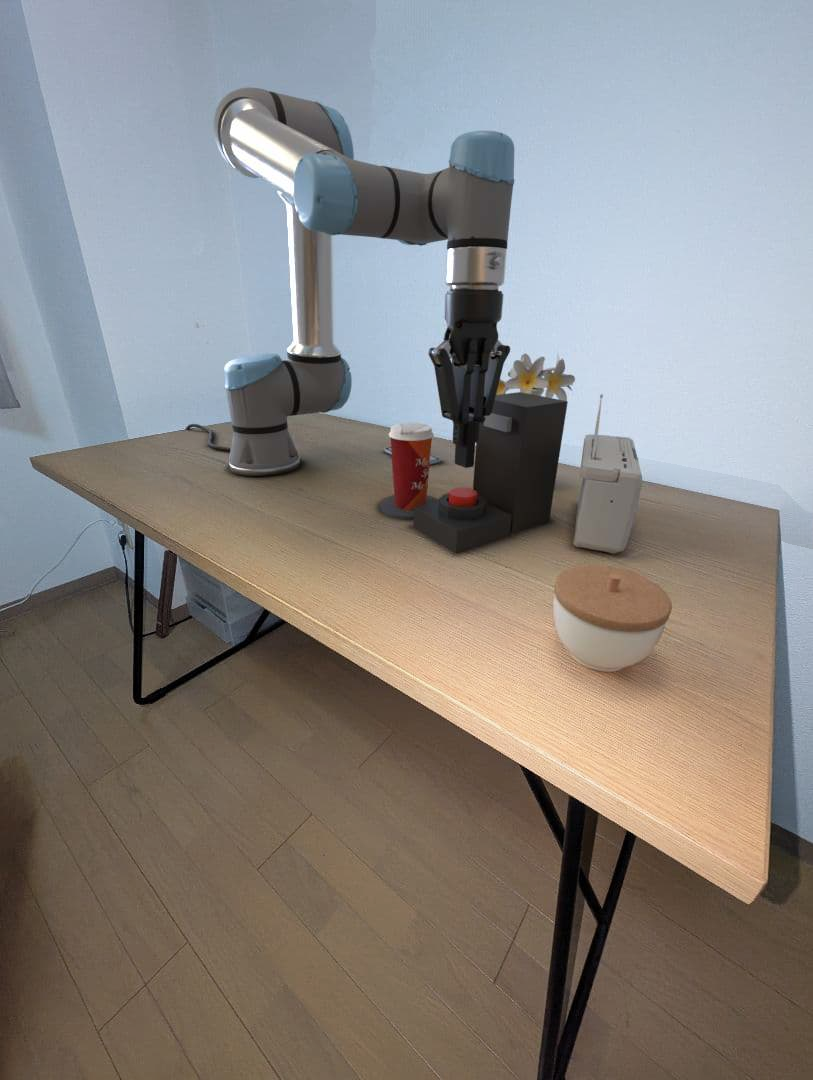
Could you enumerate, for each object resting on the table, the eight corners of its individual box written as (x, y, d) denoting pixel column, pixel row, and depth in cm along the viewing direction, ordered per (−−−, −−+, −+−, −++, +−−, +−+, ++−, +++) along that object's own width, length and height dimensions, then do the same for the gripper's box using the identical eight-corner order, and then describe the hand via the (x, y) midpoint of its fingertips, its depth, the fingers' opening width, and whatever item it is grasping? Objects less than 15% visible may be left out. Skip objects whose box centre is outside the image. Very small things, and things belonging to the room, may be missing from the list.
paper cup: (428, 514, 81) (430, 433, 75) (384, 510, 83) (383, 431, 76) (434, 498, 88) (437, 423, 82) (394, 495, 89) (394, 420, 83)
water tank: (466, 514, 83) (474, 397, 74) (507, 502, 88) (519, 391, 79) (507, 534, 75) (521, 407, 67) (549, 521, 80) (568, 401, 72)
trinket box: (539, 672, 47) (553, 593, 43) (550, 613, 56) (562, 543, 52) (657, 701, 44) (684, 618, 40) (648, 634, 53) (670, 561, 49)
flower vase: (465, 484, 97) (474, 354, 85) (524, 468, 107) (538, 349, 96) (514, 503, 87) (531, 360, 76) (573, 483, 98) (596, 354, 86)
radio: (625, 559, 68) (659, 421, 59) (566, 550, 71) (590, 416, 62) (620, 508, 86) (645, 395, 77) (573, 502, 88) (592, 392, 79)
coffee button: (442, 501, 75) (443, 490, 74) (464, 495, 77) (464, 485, 76) (460, 510, 71) (461, 499, 71) (482, 504, 74) (483, 493, 73)
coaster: (369, 503, 87) (369, 500, 87) (418, 492, 92) (418, 489, 92) (401, 524, 79) (402, 521, 78) (453, 510, 84) (453, 507, 84)
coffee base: (413, 527, 78) (414, 496, 75) (464, 513, 83) (466, 483, 81) (455, 553, 70) (457, 519, 67) (509, 536, 75) (513, 504, 73)
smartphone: (415, 464, 106) (382, 448, 117) (415, 468, 106) (383, 451, 118) (442, 459, 110) (407, 444, 121) (442, 462, 110) (407, 447, 121)
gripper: (453, 286, 55) (445, 479, 65) (531, 289, 61) (512, 464, 72) (416, 288, 60) (414, 465, 71) (491, 290, 67) (479, 452, 77)
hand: (463, 464), depth 71 cm, fingers closed
